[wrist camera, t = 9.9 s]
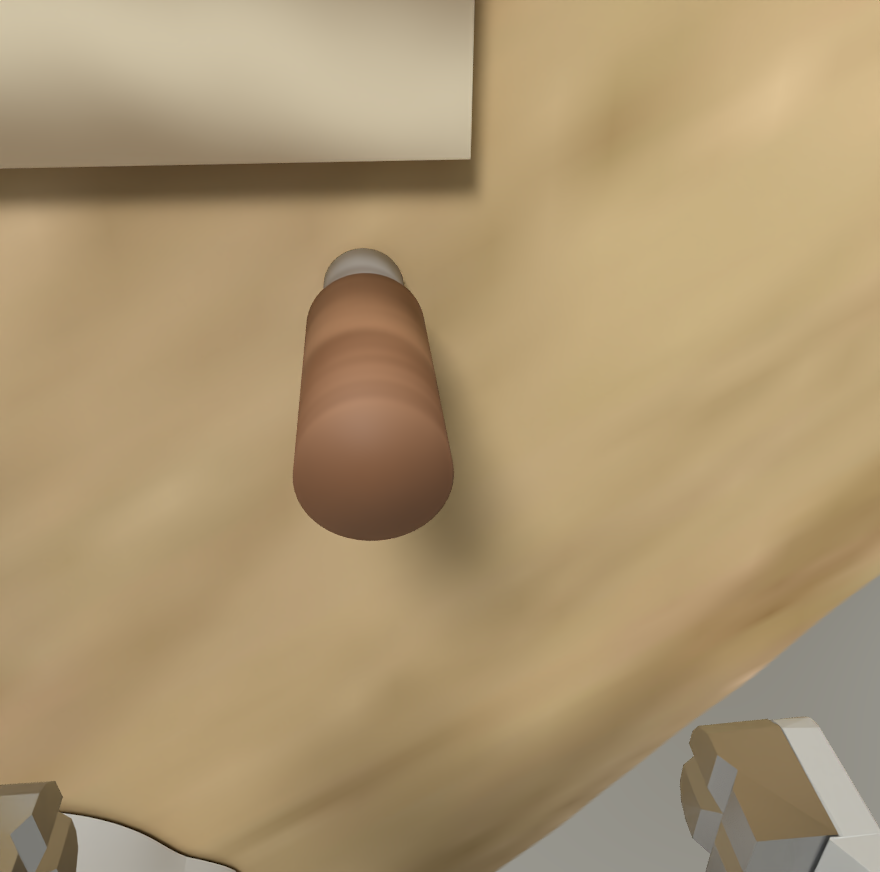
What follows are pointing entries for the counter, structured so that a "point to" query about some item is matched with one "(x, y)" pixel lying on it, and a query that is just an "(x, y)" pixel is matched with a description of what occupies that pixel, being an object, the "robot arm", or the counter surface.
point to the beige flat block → (234, 81)
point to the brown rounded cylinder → (369, 406)
